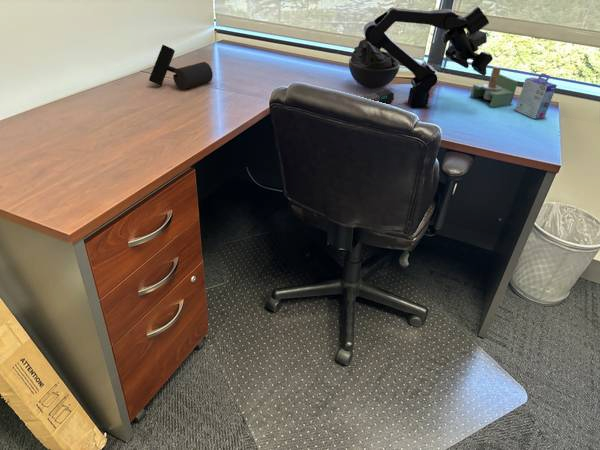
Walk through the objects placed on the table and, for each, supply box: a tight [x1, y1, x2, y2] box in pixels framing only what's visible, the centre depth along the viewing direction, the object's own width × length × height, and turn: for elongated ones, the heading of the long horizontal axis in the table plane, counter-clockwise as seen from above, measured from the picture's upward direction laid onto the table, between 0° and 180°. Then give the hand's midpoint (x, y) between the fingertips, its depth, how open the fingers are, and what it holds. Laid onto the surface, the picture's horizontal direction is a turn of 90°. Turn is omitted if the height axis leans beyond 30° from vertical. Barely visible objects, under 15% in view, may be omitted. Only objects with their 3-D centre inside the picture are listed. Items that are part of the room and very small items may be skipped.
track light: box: [148, 44, 214, 91], centre depth 178 cm, size 15×14×20 cm
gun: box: [362, 88, 395, 105], centre depth 166 cm, size 4×20×10 cm, turn 109°
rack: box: [470, 73, 519, 108], centre depth 181 cm, size 10×12×9 cm
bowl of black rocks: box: [348, 38, 401, 90], centre depth 184 cm, size 20×20×19 cm
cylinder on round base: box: [482, 65, 502, 101], centre depth 179 cm, size 7×7×12 cm
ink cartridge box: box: [514, 72, 558, 120], centre depth 169 cm, size 10×6×14 cm, turn 28°
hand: (476, 71), depth 173 cm, fingers open, 9 cm apart
